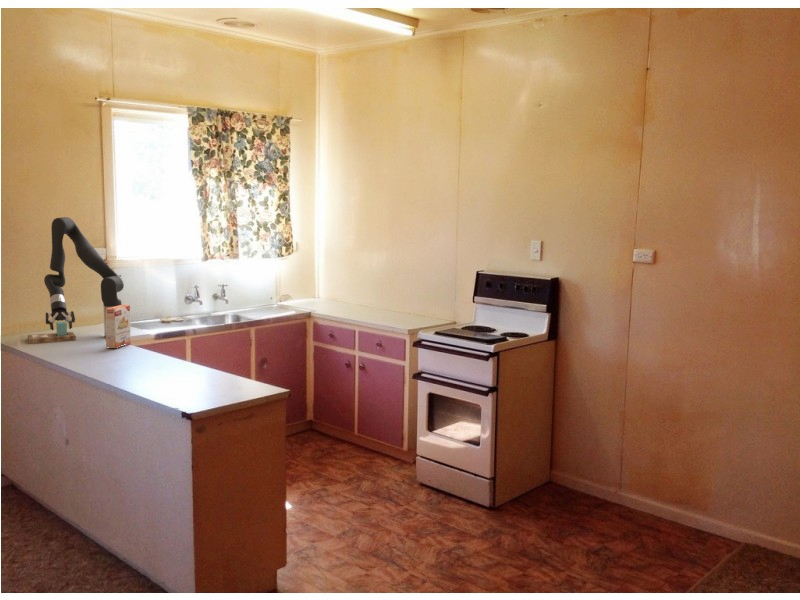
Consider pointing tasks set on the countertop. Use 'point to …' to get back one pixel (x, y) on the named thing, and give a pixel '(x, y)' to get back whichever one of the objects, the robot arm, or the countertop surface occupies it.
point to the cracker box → (117, 326)
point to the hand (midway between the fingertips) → (61, 328)
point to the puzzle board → (50, 338)
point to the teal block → (61, 328)
